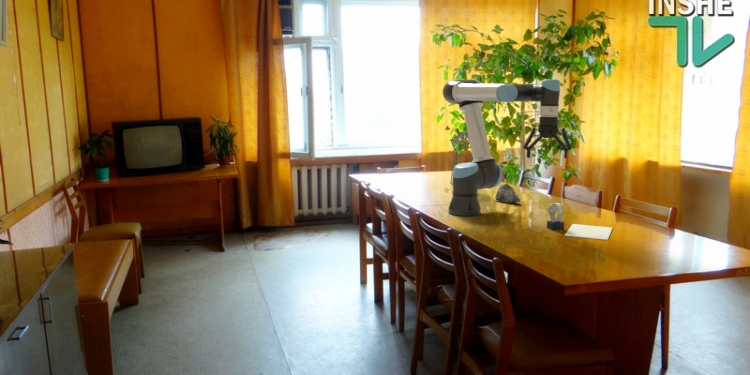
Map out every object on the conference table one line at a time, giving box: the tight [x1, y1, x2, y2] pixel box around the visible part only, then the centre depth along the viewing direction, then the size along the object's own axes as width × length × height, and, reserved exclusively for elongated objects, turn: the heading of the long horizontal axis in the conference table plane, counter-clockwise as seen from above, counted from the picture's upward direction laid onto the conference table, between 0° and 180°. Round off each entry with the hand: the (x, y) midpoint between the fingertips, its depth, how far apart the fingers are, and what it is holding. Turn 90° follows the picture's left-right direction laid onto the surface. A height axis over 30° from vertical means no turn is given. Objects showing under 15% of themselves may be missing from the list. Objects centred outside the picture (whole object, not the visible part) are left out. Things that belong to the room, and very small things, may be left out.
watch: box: [546, 202, 565, 231], centre depth 242 cm, size 6×8×11 cm
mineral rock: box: [495, 183, 521, 204], centre depth 300 cm, size 13×11×10 cm
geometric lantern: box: [449, 131, 473, 187], centre depth 328 cm, size 16×16×35 cm
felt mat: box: [564, 223, 613, 241], centre depth 237 cm, size 16×22×1 cm
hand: (545, 165), depth 250 cm, fingers open, 13 cm apart
